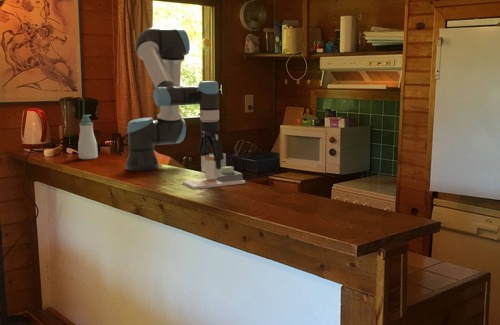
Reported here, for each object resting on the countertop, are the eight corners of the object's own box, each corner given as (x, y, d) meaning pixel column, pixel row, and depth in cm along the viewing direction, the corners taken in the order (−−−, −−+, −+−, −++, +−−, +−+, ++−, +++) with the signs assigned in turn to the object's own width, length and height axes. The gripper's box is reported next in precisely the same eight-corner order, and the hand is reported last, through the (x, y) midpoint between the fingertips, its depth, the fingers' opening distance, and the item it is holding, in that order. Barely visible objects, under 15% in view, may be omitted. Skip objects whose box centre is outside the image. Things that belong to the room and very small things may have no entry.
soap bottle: (101, 157, 302) (99, 114, 299) (89, 160, 294) (86, 116, 290) (87, 156, 306) (84, 114, 303) (74, 159, 298) (71, 115, 294)
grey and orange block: (205, 180, 226) (204, 156, 224) (213, 180, 227) (213, 155, 226) (209, 182, 222) (208, 157, 221) (217, 181, 224) (216, 156, 222)
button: (219, 174, 230) (219, 167, 229) (230, 173, 232) (230, 165, 232) (224, 176, 225) (224, 168, 225) (235, 175, 228) (235, 167, 227)
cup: (214, 176, 240) (214, 156, 239) (203, 173, 248) (202, 153, 247) (229, 174, 244) (228, 154, 243) (217, 171, 252) (217, 151, 251)
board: (182, 183, 226) (182, 175, 225) (232, 178, 236) (232, 170, 235) (193, 189, 215) (193, 180, 215) (245, 183, 225) (245, 174, 224)
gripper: (189, 119, 230) (191, 170, 234) (212, 123, 208) (214, 180, 212) (206, 118, 234) (208, 168, 237) (231, 122, 212) (232, 178, 215)
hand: (211, 174), depth 225 cm, fingers open, 13 cm apart
